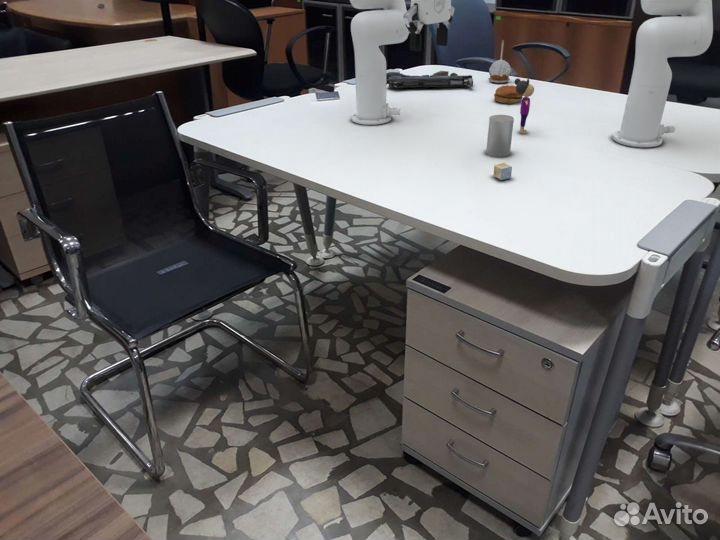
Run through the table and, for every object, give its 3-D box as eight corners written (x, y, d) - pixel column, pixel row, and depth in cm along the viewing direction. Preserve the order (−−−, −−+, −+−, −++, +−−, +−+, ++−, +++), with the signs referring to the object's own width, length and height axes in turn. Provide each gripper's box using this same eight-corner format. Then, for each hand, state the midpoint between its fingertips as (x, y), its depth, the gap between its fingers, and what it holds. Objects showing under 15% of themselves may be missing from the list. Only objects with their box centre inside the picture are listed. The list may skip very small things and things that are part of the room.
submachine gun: (465, 67, 229) (475, 77, 207) (464, 78, 231) (474, 89, 209) (384, 68, 229) (385, 79, 207) (384, 79, 231) (385, 91, 209)
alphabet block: (500, 180, 135) (501, 168, 134) (492, 176, 138) (494, 164, 136) (511, 178, 136) (512, 166, 135) (503, 174, 139) (504, 162, 137)
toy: (529, 138, 161) (536, 84, 154) (509, 137, 162) (515, 83, 155) (527, 127, 170) (534, 75, 162) (508, 126, 171) (514, 75, 163)
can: (512, 151, 153) (516, 116, 148) (506, 158, 148) (510, 122, 144) (489, 148, 156) (492, 113, 151) (483, 155, 151) (486, 119, 146)
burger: (499, 104, 192) (501, 90, 189) (490, 98, 200) (491, 84, 197) (527, 103, 193) (529, 89, 190) (517, 96, 201) (518, 82, 198)
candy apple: (512, 80, 221) (516, 39, 213) (505, 84, 216) (509, 42, 208) (493, 78, 225) (496, 38, 217) (485, 82, 219) (489, 41, 211)
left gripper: (417, -28, 125) (416, 54, 133) (467, -32, 135) (462, 45, 143) (393, -29, 130) (393, 51, 138) (442, -33, 140) (440, 42, 148)
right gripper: (724, -58, 112) (699, 34, 121) (797, -57, 98) (763, 49, 106) (757, -60, 113) (730, 33, 122) (835, -58, 99) (798, 46, 108)
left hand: (428, 48), depth 141 cm, fingers open, 9 cm apart
